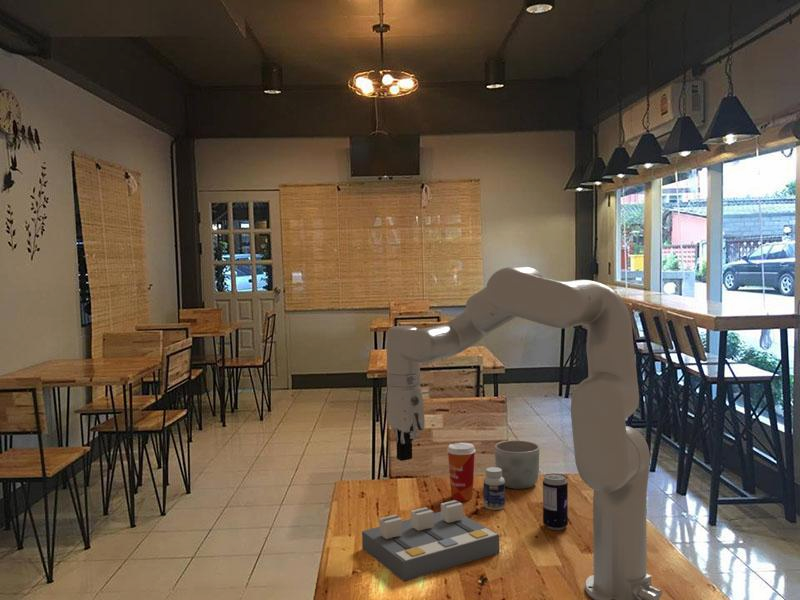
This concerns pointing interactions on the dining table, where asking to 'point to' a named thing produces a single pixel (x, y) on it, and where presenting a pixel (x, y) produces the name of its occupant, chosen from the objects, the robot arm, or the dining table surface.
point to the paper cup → (461, 470)
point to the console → (431, 546)
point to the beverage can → (555, 501)
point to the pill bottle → (494, 489)
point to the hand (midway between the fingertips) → (404, 459)
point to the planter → (518, 463)
